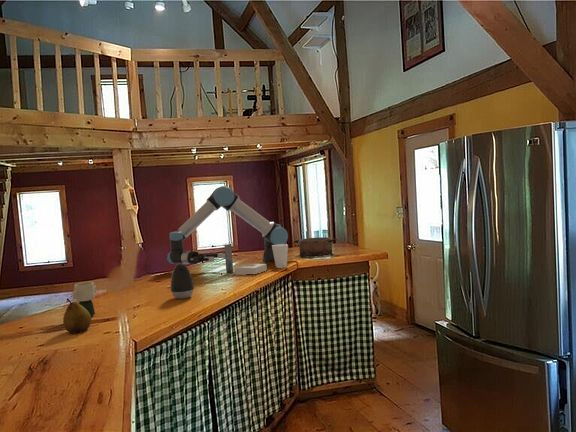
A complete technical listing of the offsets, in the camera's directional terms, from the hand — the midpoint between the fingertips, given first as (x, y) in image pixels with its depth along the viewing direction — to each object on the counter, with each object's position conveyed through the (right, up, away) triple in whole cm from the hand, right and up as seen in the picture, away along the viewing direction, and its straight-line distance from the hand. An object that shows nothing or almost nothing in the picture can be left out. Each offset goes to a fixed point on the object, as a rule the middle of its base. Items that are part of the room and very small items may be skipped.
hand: (220, 257), depth 277 cm
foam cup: (+35, -6, +7) cm, 36 cm away
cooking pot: (+58, -3, +53) cm, 79 cm away
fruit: (-34, -16, -110) cm, 116 cm away
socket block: (+18, -8, -8) cm, 21 cm away
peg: (+5, -9, -1) cm, 10 cm away
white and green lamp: (-40, -16, -88) cm, 98 cm away
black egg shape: (-8, -12, -64) cm, 65 cm away
